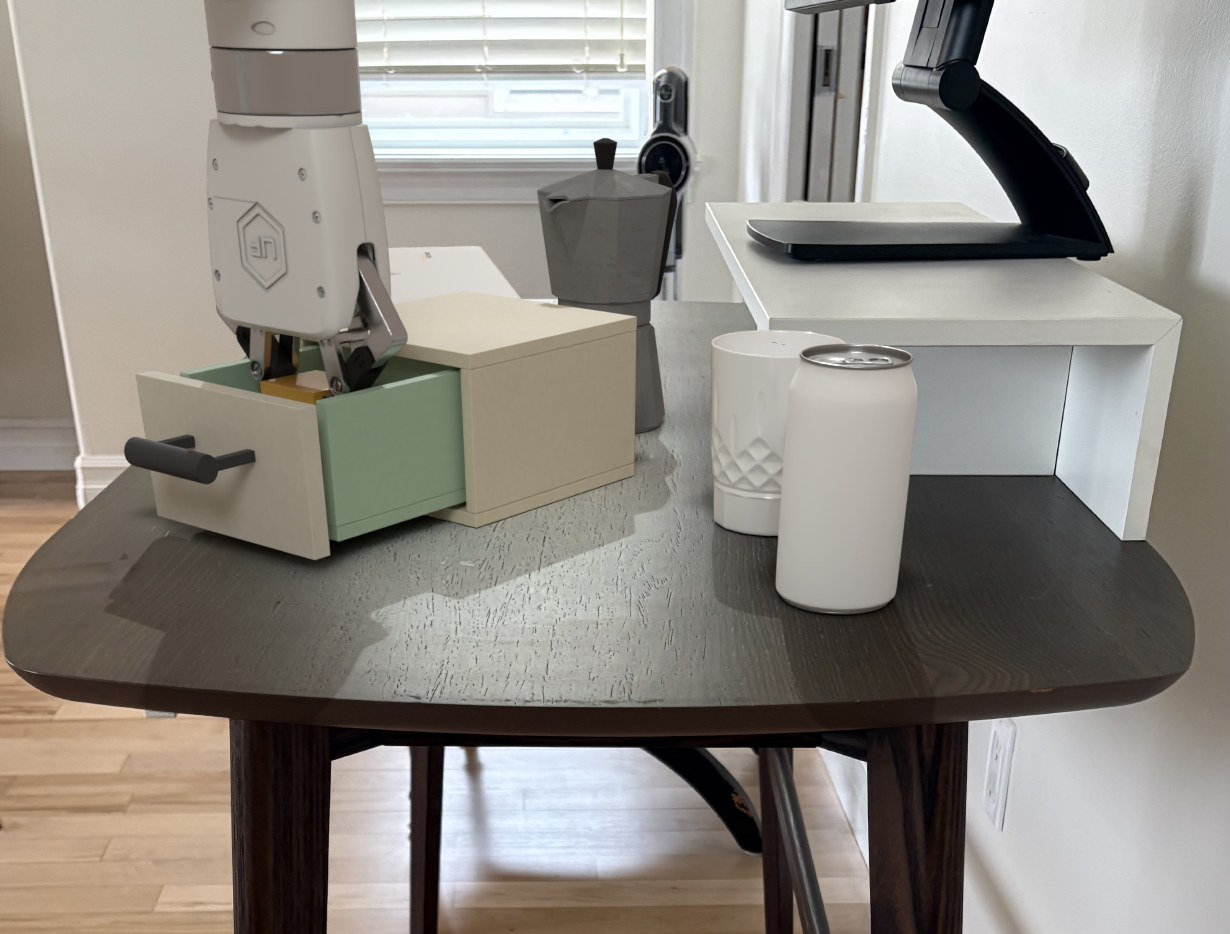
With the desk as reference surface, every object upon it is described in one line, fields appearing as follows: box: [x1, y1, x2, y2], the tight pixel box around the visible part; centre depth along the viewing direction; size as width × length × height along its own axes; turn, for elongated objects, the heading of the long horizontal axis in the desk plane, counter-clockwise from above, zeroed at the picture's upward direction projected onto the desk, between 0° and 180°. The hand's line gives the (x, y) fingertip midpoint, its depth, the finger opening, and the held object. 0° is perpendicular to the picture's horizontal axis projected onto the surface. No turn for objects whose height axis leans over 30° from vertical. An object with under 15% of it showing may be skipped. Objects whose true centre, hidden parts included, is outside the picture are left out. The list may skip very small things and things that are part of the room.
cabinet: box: [300, 291, 637, 528], centre depth 100 cm, size 16×15×10 cm
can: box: [775, 343, 919, 616], centre depth 81 cm, size 6×6×12 cm
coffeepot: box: [536, 137, 678, 434], centre depth 112 cm, size 15×9×18 cm, turn 146°
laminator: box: [388, 245, 522, 304], centre depth 134 cm, size 34×12×6 cm, turn 10°
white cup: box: [710, 329, 849, 537], centre depth 93 cm, size 8×8×10 cm
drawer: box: [123, 344, 466, 561], centre depth 91 cm, size 19×13×8 cm
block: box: [260, 370, 332, 474], centre depth 91 cm, size 4×4×4 cm
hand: (320, 454), depth 92 cm, fingers closed on block, 4 cm apart
